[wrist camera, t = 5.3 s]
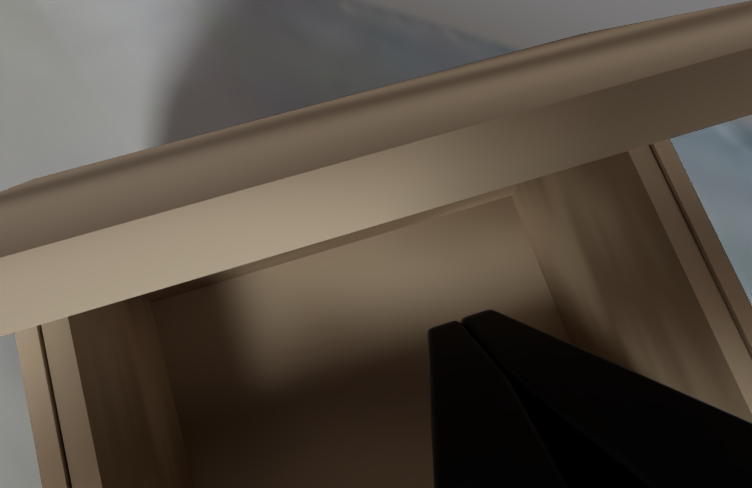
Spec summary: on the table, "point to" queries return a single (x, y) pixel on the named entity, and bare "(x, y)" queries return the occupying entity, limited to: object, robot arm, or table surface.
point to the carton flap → (362, 161)
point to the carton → (384, 335)
